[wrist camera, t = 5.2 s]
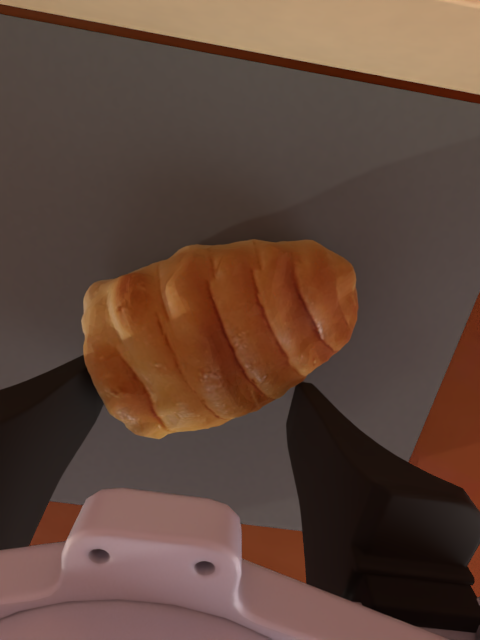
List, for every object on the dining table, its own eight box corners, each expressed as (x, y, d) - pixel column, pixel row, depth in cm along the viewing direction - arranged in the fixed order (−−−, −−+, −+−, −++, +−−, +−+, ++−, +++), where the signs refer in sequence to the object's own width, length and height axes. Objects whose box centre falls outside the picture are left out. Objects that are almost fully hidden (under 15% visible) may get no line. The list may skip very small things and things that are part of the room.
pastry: (319, 185, 12) (350, 190, 9) (368, 348, 15) (408, 403, 11) (82, 284, 14) (28, 322, 10) (162, 419, 16) (140, 489, 13)
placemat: (375, 538, 19) (375, 539, 19) (-20, 491, 18) (-21, 492, 18) (549, 117, 12) (552, 117, 12) (-88, -2, 11) (-90, -4, 11)
